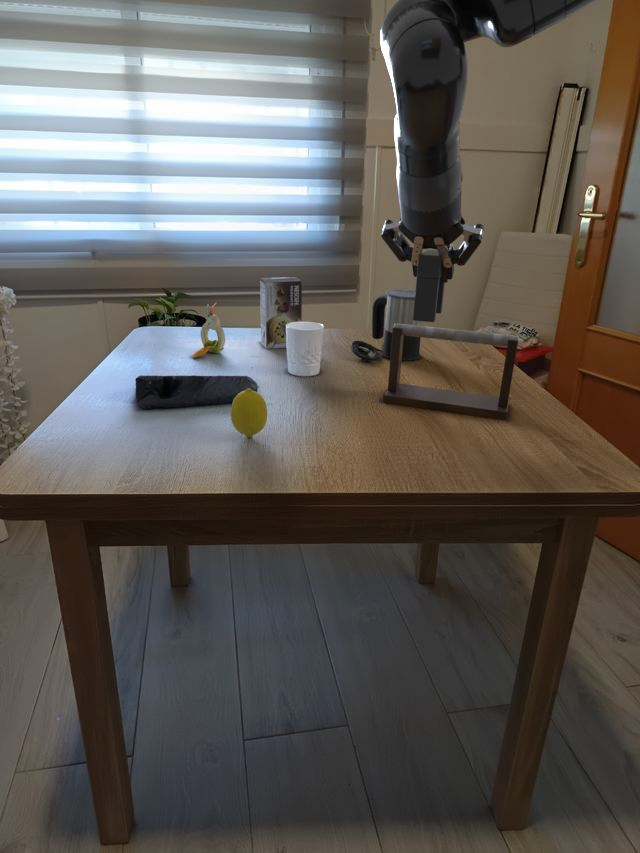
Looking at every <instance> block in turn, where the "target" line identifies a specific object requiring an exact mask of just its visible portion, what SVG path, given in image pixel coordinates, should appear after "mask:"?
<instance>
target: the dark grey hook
mask: <svg viewBox="0 0 640 853" xmlns="http://www.w3.org/2000/svg"><path fill="white" fill-rule="evenodd" d="M442 266H443V262H442V258H441V256H439V253H438V250H436V249H426V250H425V251H422V254H421V255H419V258H418V269H417V277H416V282H415V291H416V292H415V303H414V314H413V320H414V321H423V322H424V323H435V322H436V317H437V314H442V312H443V303H444V294H445V286H446V283H443V282H442Z"/></svg>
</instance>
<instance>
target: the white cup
mask: <svg viewBox="0 0 640 853" xmlns="http://www.w3.org/2000/svg"><path fill="white" fill-rule="evenodd" d="M324 331H325V325H324V324H323V323H319V322H315V321H305V320H304V321H303V320H302V321H300V322H291V323H288V324H286V347H287V348H286V359H287V372H288V373H289V374H291V375H292V376H296V377H312V376H317V375H319V374H320V369H321V360H322V353H323V342H324Z"/></svg>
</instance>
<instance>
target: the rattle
mask: <svg viewBox="0 0 640 853" xmlns="http://www.w3.org/2000/svg"><path fill="white" fill-rule="evenodd" d="M216 304H218V301H216V302H215V303H214V304H213V305H212V306H211V307H210V305H209V304H207V305H206V318H207V320H206V322H205V323H203V324H202V326H201V329H200V339H201V343H202V345H203V346H202V347H201V348H199V349H198V350H197V351H195V352H194V353H193V354H192V357H193V358H195V359H196V358H200V357H202V356H204V355H205V354H207V352H209V353H214V354H219V353H220V352H222V351H224V349H225V348H224V346H225V343H226V335H225V334H226V333H225V330H224V329H223V327H222V326H221V320H220V318H219V316H218V315H216V314H214V313H213V310H214V307H215V306H216ZM210 330H212V331H215V333H216V336H217V339H214V340H211V339H209V332H210Z"/></svg>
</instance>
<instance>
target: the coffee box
mask: <svg viewBox="0 0 640 853" xmlns="http://www.w3.org/2000/svg"><path fill="white" fill-rule="evenodd" d="M259 298H260V300H259V301H260V305H259V306H260V343H261V345H262V346H263V347H264V348H265V349H266V350H270V349H283V348H286V349H287V347H286V324H288V323H291V322H300V321H303V320H302V314H303V312H302V311H303V304H302V303H303V281H302V280H301V279H299V278H298V277H296V276H282V277H281V276H279V277H278V276H277V277H275V276H274V277H271V276H270V277H260V278H259Z"/></svg>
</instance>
